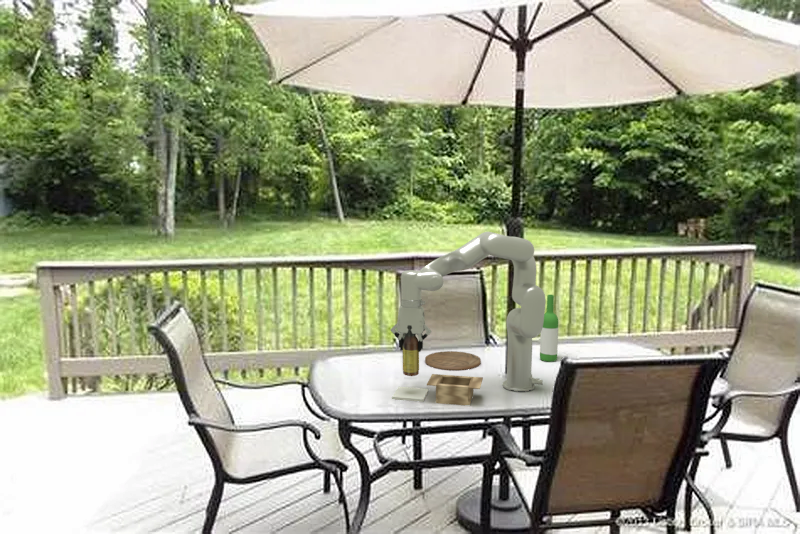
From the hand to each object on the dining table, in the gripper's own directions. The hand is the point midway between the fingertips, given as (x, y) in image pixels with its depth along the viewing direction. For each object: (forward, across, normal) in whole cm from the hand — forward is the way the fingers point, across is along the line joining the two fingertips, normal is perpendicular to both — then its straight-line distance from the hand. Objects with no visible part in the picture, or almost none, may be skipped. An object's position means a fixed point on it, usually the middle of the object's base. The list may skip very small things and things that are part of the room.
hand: (410, 349), depth 243 cm
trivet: (+18, -10, -47) cm, 51 cm away
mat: (+18, 0, 0) cm, 18 cm away
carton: (+18, -17, 0) cm, 25 cm away
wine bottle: (+18, -52, -60) cm, 82 cm away
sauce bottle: (+10, 0, 0) cm, 10 cm away
